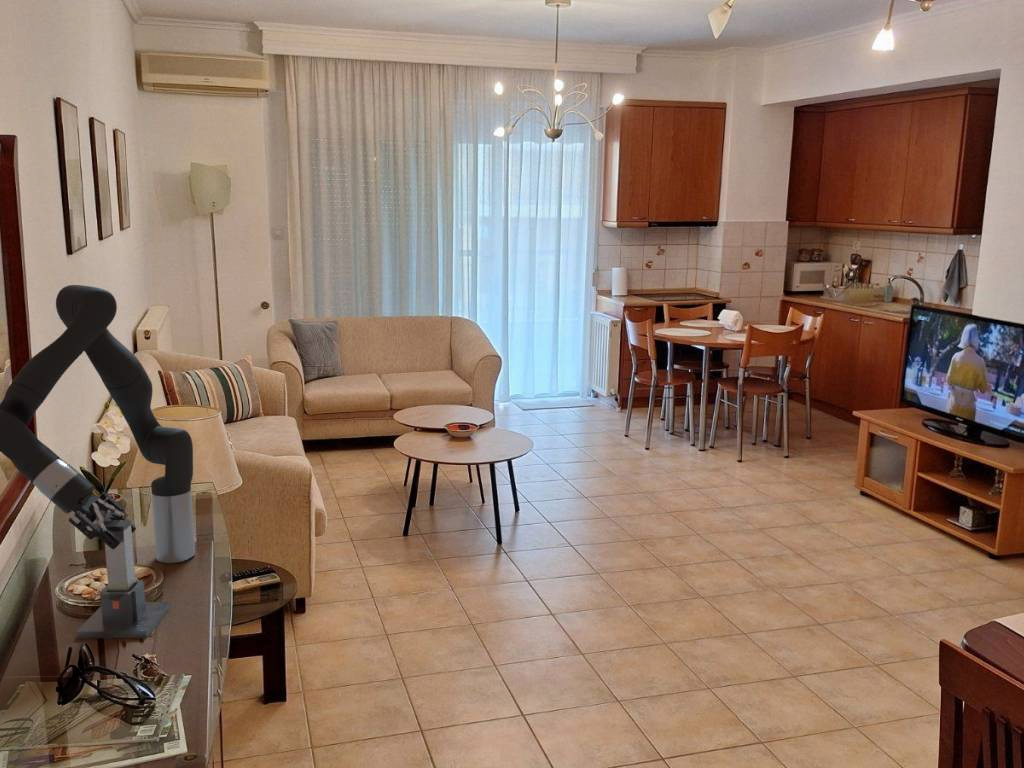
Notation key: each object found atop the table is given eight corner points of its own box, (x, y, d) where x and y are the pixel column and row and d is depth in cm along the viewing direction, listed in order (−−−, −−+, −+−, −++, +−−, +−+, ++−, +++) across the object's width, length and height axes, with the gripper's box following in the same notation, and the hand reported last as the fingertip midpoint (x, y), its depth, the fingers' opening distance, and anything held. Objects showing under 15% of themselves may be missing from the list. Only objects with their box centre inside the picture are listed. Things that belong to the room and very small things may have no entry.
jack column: (117, 591, 191) (111, 520, 189) (136, 591, 192) (130, 520, 189) (109, 599, 187) (103, 526, 184) (128, 599, 188) (123, 526, 185)
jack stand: (105, 608, 197) (102, 574, 196) (170, 608, 198) (167, 573, 196) (76, 638, 184) (73, 601, 182) (146, 637, 184) (143, 600, 183)
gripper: (59, 483, 177) (124, 538, 180) (90, 463, 191) (150, 515, 194) (34, 509, 178) (99, 564, 181) (67, 487, 192) (127, 539, 195)
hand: (125, 539), depth 187 cm, fingers open, 7 cm apart
